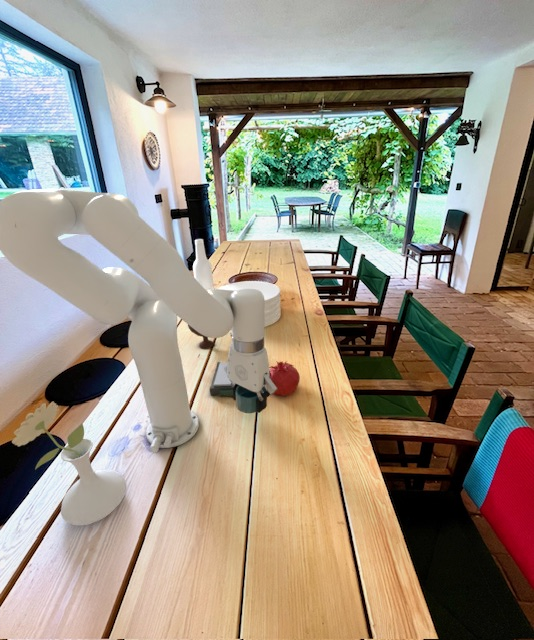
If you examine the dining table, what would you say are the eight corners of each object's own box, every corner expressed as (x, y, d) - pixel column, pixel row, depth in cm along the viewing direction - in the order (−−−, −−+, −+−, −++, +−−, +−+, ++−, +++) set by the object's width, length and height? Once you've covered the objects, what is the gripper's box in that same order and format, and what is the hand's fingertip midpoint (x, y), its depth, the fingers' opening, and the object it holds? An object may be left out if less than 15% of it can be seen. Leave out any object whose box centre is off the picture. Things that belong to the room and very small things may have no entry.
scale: (252, 396, 90) (251, 387, 89) (210, 397, 91) (208, 388, 89) (255, 367, 104) (254, 359, 103) (218, 368, 104) (217, 360, 103)
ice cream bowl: (215, 353, 113) (210, 314, 107) (186, 351, 115) (180, 312, 109) (225, 339, 123) (221, 302, 116) (197, 337, 125) (192, 301, 119)
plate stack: (206, 326, 133) (203, 301, 128) (229, 302, 158) (227, 279, 153) (272, 332, 127) (271, 305, 122) (285, 305, 151) (285, 282, 147)
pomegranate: (305, 384, 95) (305, 357, 91) (289, 403, 87) (289, 374, 83) (275, 375, 100) (275, 349, 96) (258, 393, 92) (257, 365, 88)
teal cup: (262, 415, 79) (262, 398, 77) (235, 414, 79) (234, 398, 77) (263, 397, 85) (263, 382, 83) (237, 397, 86) (237, 381, 84)
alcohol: (212, 303, 157) (204, 241, 145) (195, 302, 159) (186, 241, 146) (217, 297, 165) (211, 237, 153) (201, 296, 167) (193, 238, 154)
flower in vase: (111, 467, 70) (78, 370, 60) (139, 496, 63) (108, 393, 53) (44, 513, 61) (-8, 408, 51) (69, 553, 54) (15, 442, 44)
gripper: (210, 337, 77) (215, 397, 84) (268, 360, 67) (268, 426, 75) (231, 326, 82) (234, 384, 90) (288, 346, 73) (286, 409, 80)
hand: (249, 403), depth 82 cm, fingers closed on teal cup, 7 cm apart
